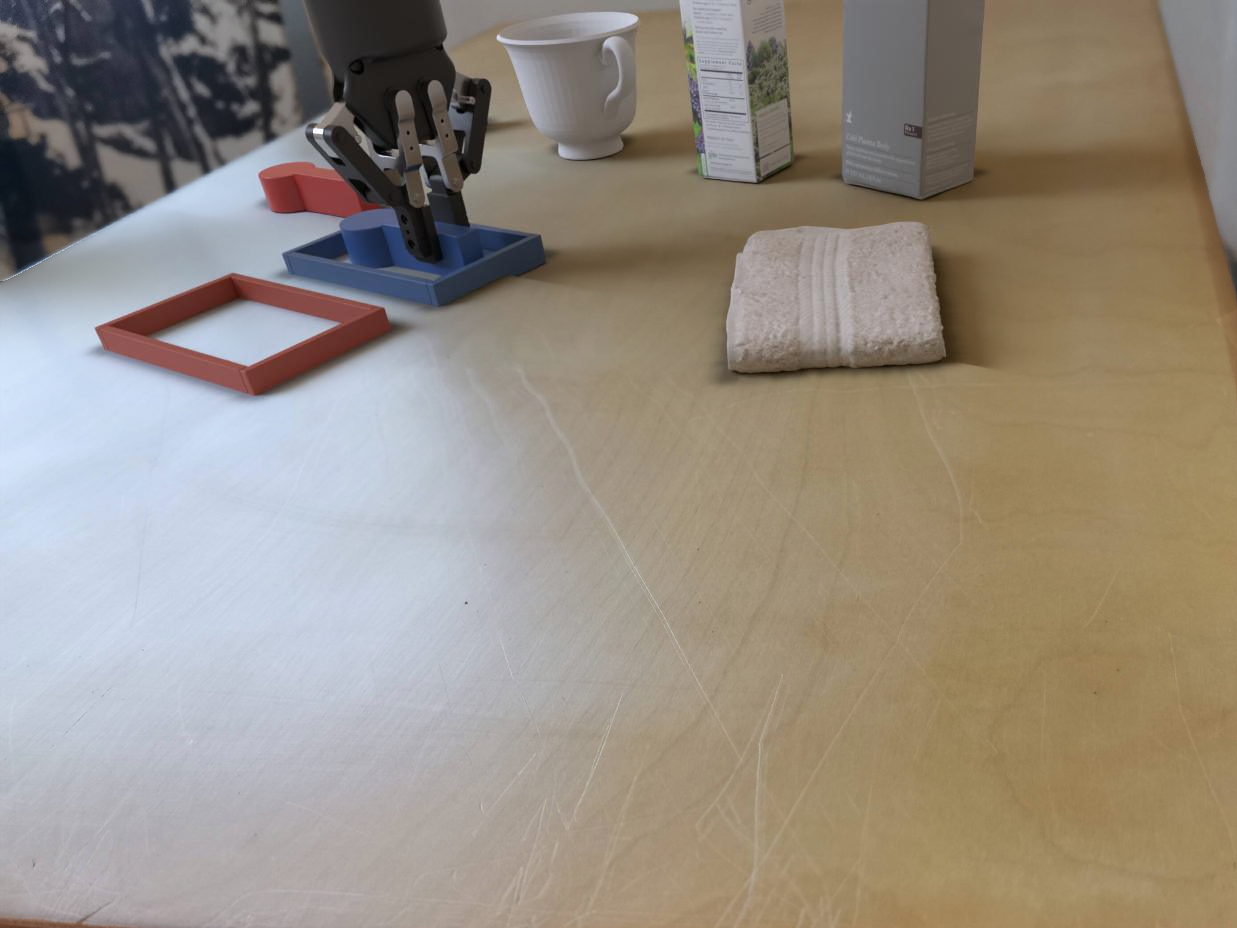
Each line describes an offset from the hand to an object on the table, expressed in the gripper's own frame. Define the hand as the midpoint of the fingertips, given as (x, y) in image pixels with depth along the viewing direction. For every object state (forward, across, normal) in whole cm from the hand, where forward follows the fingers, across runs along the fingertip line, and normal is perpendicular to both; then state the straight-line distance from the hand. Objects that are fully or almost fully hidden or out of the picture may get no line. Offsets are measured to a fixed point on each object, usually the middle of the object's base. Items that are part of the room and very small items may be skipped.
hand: (442, 254), depth 76 cm
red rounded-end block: (+2, -7, -22) cm, 23 cm away
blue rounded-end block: (+1, 0, -3) cm, 3 cm away
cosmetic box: (+2, -29, +20) cm, 35 cm away
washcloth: (+2, -5, +28) cm, 29 cm away
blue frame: (+2, 0, -3) cm, 3 cm away
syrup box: (+2, -27, +6) cm, 28 cm away
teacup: (+2, -27, -10) cm, 29 cm away
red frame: (+2, +14, -3) cm, 14 cm away
